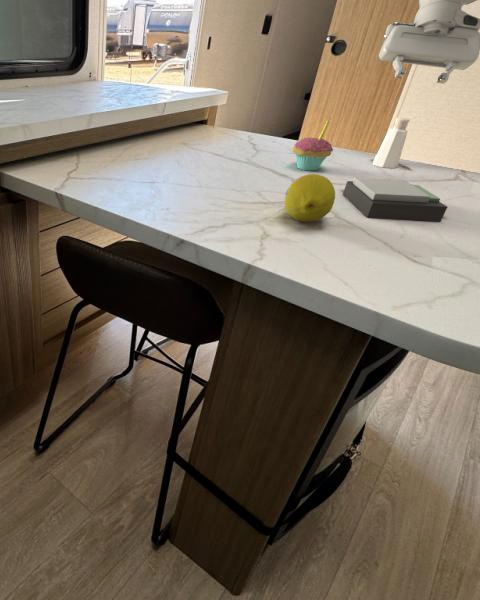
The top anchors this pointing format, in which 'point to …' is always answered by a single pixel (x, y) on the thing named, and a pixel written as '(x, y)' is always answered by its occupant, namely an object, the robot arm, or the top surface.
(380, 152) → the salt shaker
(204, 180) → the top surface
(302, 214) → the lemon
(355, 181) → the scale
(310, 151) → the cupcake
